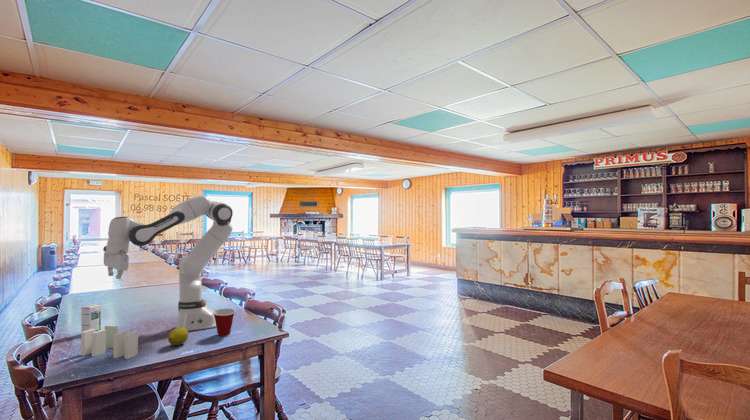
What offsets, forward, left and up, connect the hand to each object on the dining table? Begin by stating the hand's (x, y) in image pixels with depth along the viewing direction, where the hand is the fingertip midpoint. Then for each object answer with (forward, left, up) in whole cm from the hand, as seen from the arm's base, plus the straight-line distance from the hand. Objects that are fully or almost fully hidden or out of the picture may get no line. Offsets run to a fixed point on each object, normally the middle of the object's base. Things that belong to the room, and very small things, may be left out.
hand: (114, 277), depth 178 cm
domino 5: (-16, +26, -31) cm, 44 cm away
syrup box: (+16, -15, -31) cm, 38 cm away
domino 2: (-2, +19, -31) cm, 36 cm away
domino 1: (+3, +17, -31) cm, 35 cm away
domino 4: (-11, +24, -31) cm, 41 cm away
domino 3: (-3, +11, -31) cm, 33 cm away
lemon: (-32, +16, -31) cm, 47 cm away
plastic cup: (-51, +5, -31) cm, 60 cm away
